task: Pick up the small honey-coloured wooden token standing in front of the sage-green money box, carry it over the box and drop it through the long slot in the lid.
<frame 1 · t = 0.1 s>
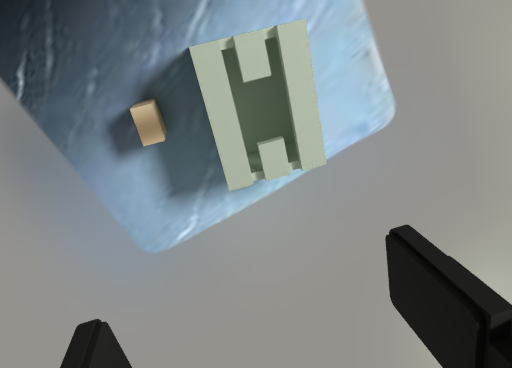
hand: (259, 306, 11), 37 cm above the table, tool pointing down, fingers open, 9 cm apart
wooden token: (151, 117, 43), on the table
money box: (250, 99, 45), on the table
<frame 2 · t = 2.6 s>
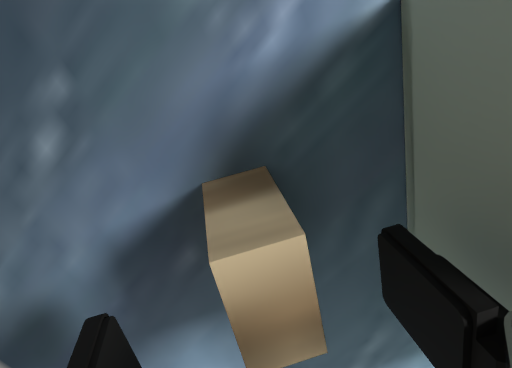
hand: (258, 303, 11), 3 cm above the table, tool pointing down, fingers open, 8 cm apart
wooden token: (247, 223, 14), on the table
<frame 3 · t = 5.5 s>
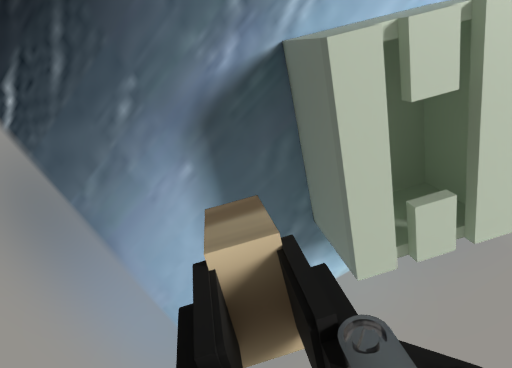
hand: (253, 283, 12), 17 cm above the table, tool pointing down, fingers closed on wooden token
wooden token: (243, 245, 16), point 13 cm above the table, tilted 10°, touching gripper
money box: (366, 122, 29), on the table
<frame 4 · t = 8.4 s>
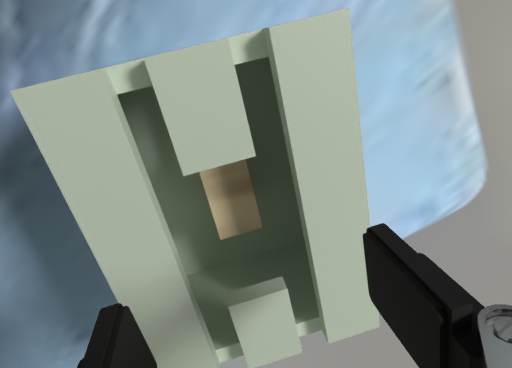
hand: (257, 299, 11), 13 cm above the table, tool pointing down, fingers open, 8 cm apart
wooden token: (236, 215, 21), point 3 cm above the table, tilted 90°, touching money box
money box: (222, 170, 23), on the table
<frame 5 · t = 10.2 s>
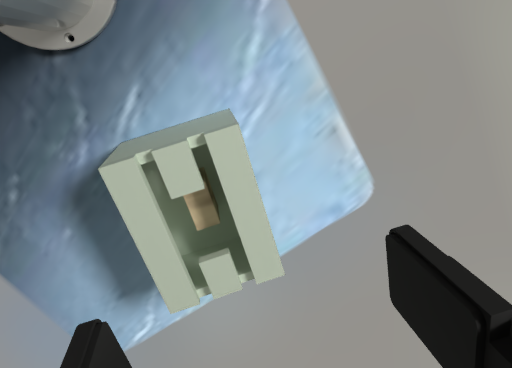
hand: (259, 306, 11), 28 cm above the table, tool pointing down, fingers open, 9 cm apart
wooden token: (208, 217, 37), point 3 cm above the table, tilted 90°, touching money box
money box: (200, 191, 39), on the table
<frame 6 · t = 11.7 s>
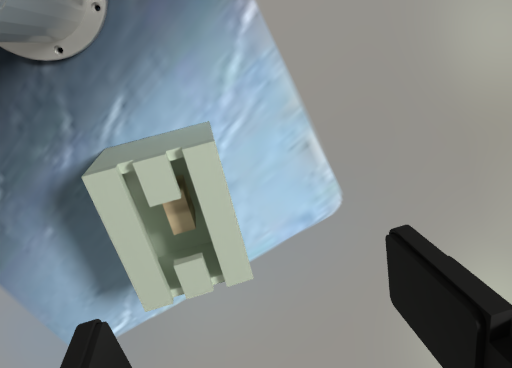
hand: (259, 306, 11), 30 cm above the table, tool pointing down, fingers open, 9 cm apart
wooden token: (185, 222, 40), point 3 cm above the table, tilted 90°, touching money box
money box: (179, 196, 41), on the table
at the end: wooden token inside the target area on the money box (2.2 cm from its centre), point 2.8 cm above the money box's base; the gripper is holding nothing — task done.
